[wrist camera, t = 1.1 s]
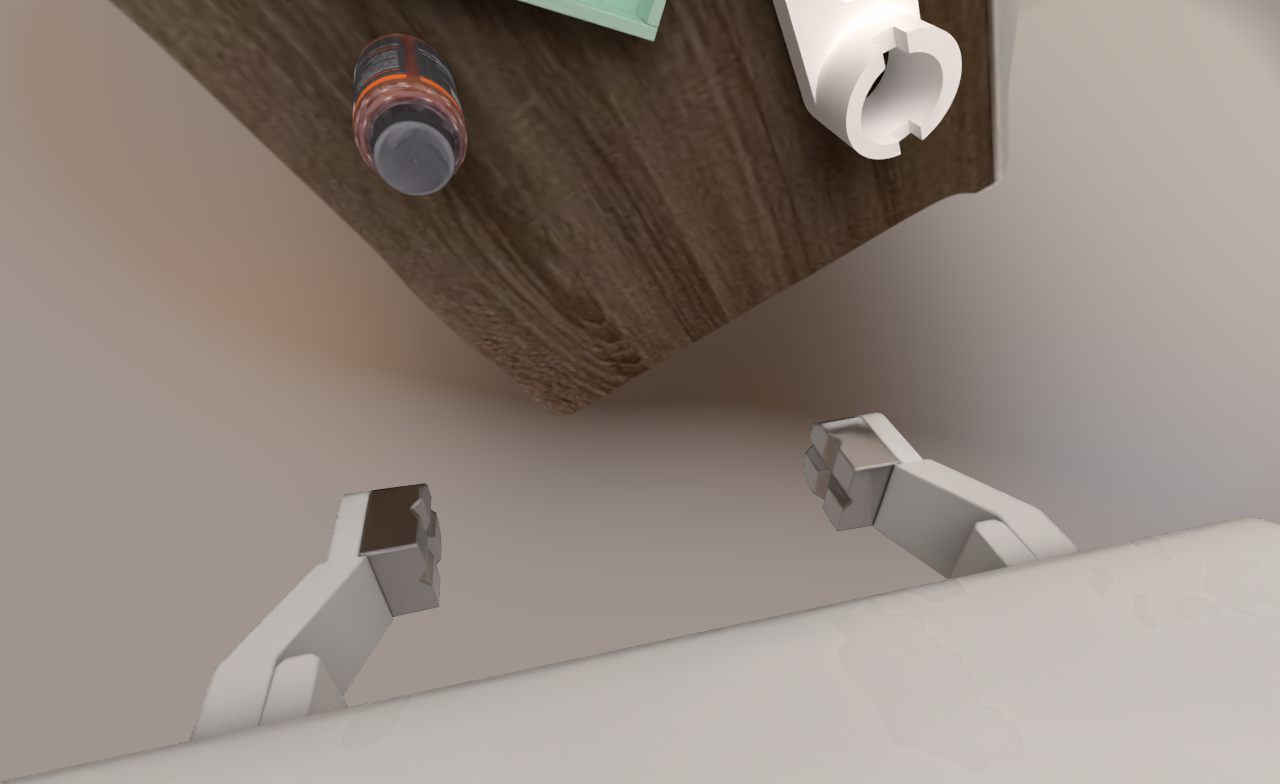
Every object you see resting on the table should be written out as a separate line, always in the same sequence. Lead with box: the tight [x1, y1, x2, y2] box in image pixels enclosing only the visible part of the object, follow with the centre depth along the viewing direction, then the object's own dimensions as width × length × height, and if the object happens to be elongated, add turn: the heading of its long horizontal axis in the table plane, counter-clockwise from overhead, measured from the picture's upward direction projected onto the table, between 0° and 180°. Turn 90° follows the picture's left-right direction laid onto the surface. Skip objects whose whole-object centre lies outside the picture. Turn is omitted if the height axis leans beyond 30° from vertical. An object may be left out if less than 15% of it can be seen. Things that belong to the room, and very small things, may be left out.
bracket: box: [773, 0, 962, 159], centre depth 40 cm, size 20×9×7 cm, turn 29°
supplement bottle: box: [353, 34, 467, 196], centre depth 35 cm, size 6×6×11 cm
